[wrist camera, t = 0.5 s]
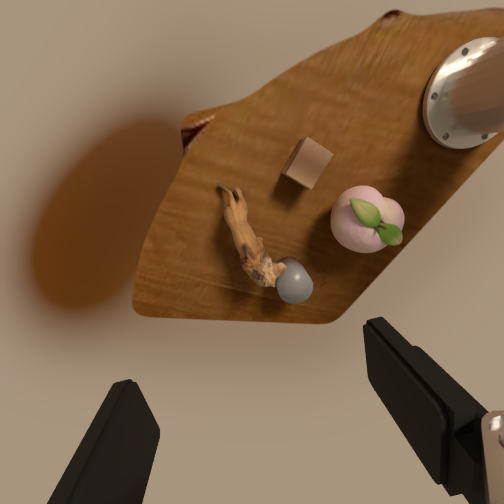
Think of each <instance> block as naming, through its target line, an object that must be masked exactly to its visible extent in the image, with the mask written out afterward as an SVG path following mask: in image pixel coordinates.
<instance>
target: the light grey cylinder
mask: <svg viewBox="0 0 504 504" xmlns="http://www.w3.org/2000/svg"><path fill="white" fill-rule="evenodd" d="M279 262H282V263H283V264H284V265H286V267H287V268H286V271H284V272H282V273H280V275H279V277H278V278H277V279H276V280H275V283H276V287H277V290H278V293H279V296H280V297H281V299H282V300H284V301H285V302H287V303H290V304H298V303H302V302H304V301H305V300H307V299H308V298H309V297H310V295H311V294H312V291H313V282H312V280H311V278H310V277H309V275H308V274H307V272H306V270H305V269H304V267H303V266H302V264H301V263H300V261H299V260H297V259H296V258H293V257H285V258H282V259H280V260H279V261H277V262H276V263H279Z"/></svg>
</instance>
